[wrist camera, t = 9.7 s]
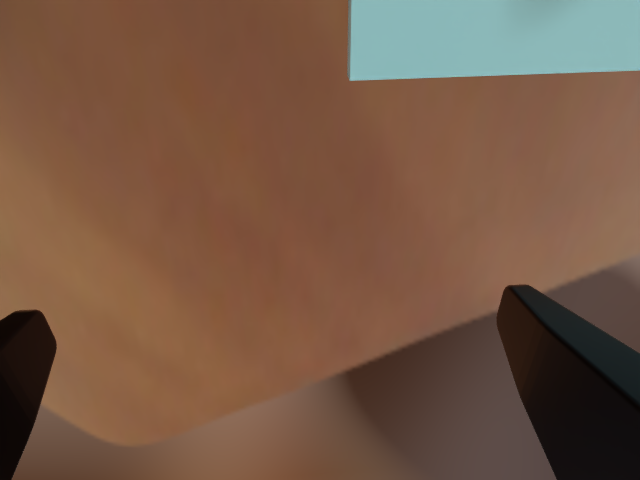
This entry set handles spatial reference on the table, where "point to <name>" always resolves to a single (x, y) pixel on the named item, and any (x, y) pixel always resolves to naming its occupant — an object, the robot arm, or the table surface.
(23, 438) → the robot arm
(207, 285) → the table surface
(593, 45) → the cover
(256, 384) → the table surface
